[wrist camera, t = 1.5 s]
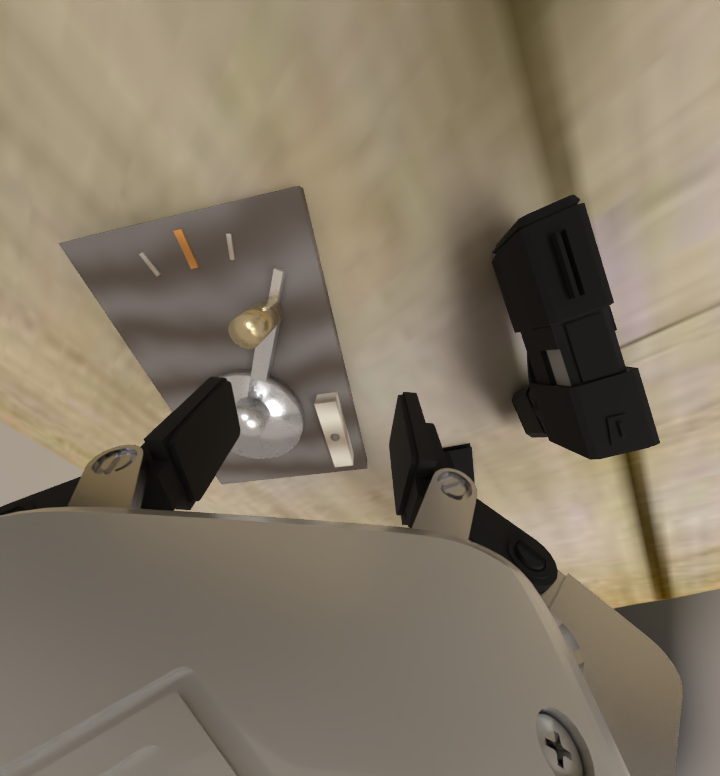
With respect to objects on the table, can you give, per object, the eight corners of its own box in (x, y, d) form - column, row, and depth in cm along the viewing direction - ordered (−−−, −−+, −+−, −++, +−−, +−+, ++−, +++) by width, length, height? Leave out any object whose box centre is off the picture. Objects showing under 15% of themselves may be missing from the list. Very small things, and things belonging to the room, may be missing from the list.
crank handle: (293, 459, 36) (278, 507, 30) (202, 435, 34) (165, 481, 28) (346, 292, 24) (339, 313, 18) (213, 242, 22) (154, 247, 16)
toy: (514, 435, 33) (599, 502, 18) (463, 280, 31) (509, 218, 17) (560, 422, 32) (690, 483, 17) (509, 261, 30) (600, 177, 16)
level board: (74, 242, 24) (28, 244, 21) (303, 188, 22) (291, 181, 19) (226, 476, 40) (213, 498, 37) (367, 460, 38) (367, 482, 35)
